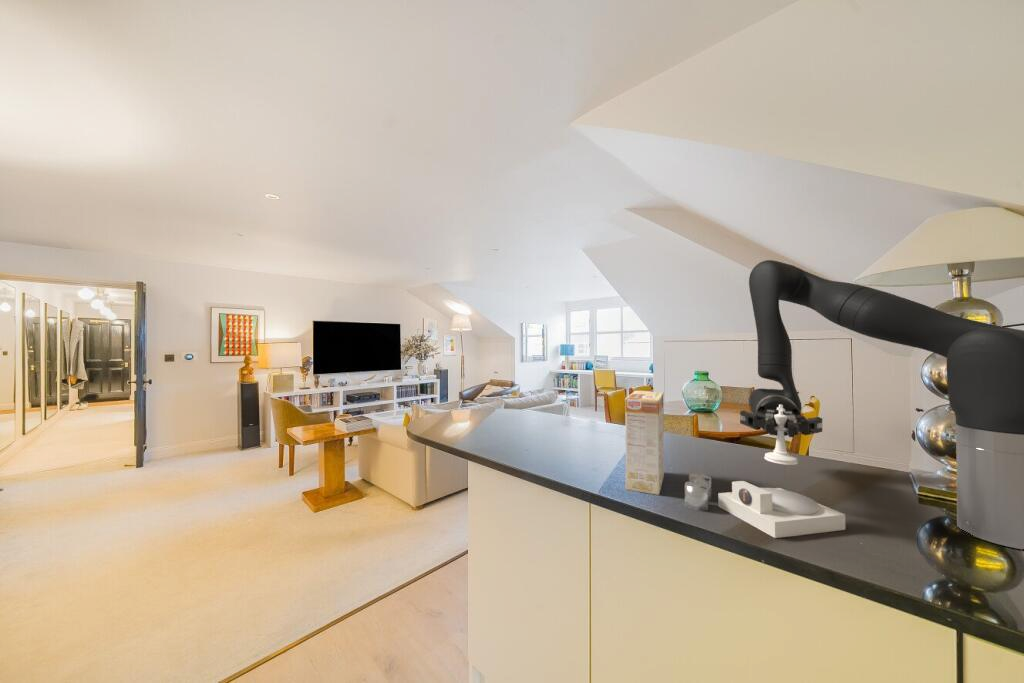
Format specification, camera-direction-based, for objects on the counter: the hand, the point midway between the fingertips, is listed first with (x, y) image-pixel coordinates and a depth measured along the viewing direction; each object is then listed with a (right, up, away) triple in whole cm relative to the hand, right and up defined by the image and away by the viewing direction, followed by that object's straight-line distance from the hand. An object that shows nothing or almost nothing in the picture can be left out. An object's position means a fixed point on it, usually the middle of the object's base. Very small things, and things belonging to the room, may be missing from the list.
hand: (781, 430), depth 65 cm
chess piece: (+2, -6, +2) cm, 7 cm away
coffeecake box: (-16, -16, +20) cm, 31 cm away
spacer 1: (-9, -16, +11) cm, 21 cm away
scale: (+1, -16, +2) cm, 16 cm away
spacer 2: (-12, -16, +6) cm, 21 cm away
